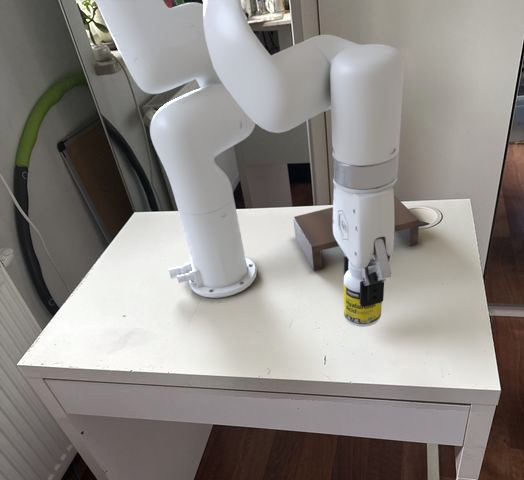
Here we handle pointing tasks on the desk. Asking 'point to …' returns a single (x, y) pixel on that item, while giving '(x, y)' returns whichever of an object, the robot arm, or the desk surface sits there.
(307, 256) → the shelf
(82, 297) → the desk surface
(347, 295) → the supplement bottle
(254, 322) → the desk surface
